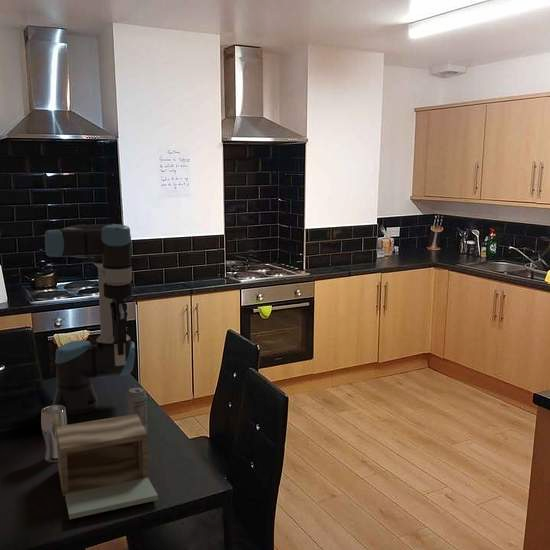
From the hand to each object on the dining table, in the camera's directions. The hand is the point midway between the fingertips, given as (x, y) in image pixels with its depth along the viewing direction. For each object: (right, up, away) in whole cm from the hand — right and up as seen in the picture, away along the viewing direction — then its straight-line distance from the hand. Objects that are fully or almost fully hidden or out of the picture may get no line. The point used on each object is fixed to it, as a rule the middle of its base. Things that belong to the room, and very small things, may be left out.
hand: (120, 364), depth 162 cm
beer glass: (-21, -29, +8) cm, 36 cm away
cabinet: (-4, -31, -3) cm, 31 cm away
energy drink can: (-1, -26, +23) cm, 35 cm away
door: (0, -31, -11) cm, 33 cm away
